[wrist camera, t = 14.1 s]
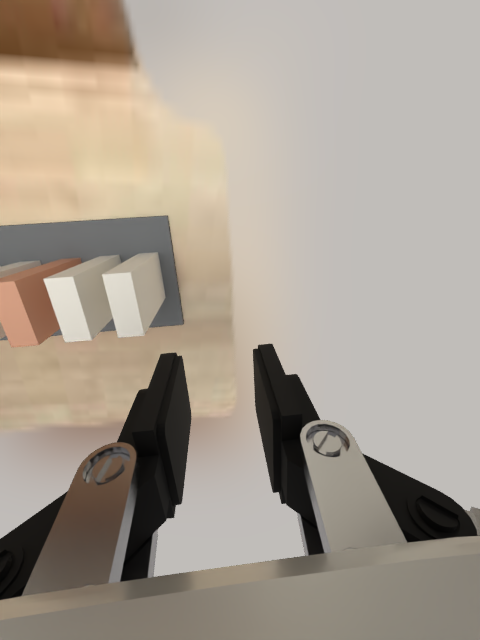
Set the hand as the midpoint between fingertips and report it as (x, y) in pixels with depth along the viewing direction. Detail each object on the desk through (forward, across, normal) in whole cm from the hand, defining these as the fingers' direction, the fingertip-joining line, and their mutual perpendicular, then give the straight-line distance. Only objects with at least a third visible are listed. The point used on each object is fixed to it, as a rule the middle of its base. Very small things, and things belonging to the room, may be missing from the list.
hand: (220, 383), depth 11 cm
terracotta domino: (+21, +15, 0) cm, 26 cm away
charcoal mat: (+21, +15, 0) cm, 26 cm away
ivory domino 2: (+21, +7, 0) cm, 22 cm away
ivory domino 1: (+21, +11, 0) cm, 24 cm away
